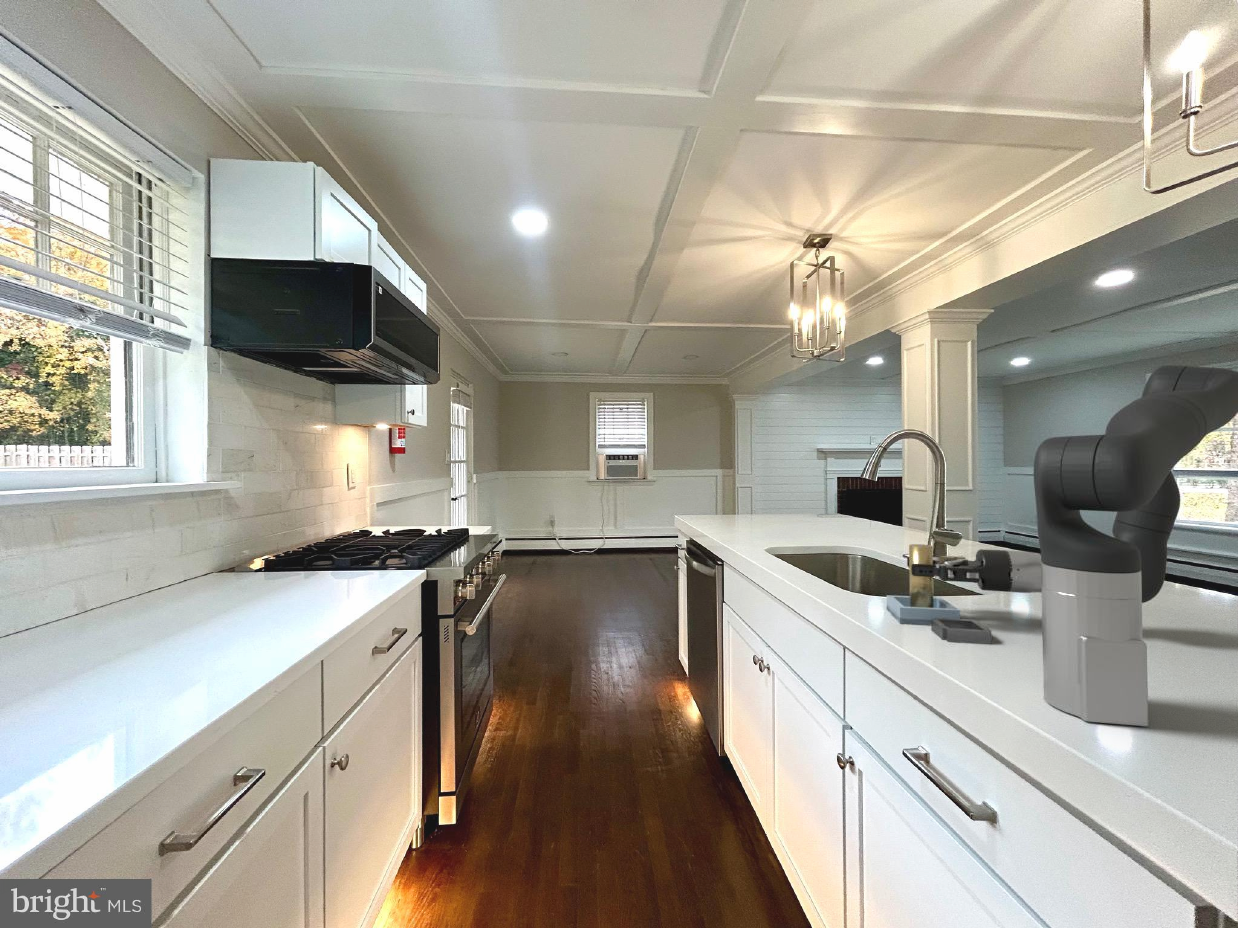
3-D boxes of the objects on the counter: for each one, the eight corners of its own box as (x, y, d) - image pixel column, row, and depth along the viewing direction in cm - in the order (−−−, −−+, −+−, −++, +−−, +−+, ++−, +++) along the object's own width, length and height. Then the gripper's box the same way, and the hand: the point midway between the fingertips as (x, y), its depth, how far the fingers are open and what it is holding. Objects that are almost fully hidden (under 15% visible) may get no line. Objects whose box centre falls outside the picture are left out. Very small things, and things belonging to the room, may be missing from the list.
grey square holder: (994, 644, 88) (994, 632, 88) (944, 641, 90) (944, 629, 90) (975, 630, 96) (975, 619, 96) (929, 628, 97) (929, 617, 97)
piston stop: (936, 615, 102) (935, 547, 102) (913, 614, 103) (912, 547, 103) (929, 610, 106) (928, 544, 106) (907, 609, 107) (906, 544, 107)
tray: (960, 626, 98) (959, 610, 98) (900, 623, 101) (900, 607, 101) (940, 612, 108) (940, 597, 108) (886, 609, 110) (886, 595, 110)
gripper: (998, 545, 105) (905, 541, 112) (1019, 556, 92) (912, 551, 99) (999, 583, 105) (906, 577, 112) (1020, 600, 92) (913, 592, 99)
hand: (909, 565), depth 105 cm, fingers open, 8 cm apart
